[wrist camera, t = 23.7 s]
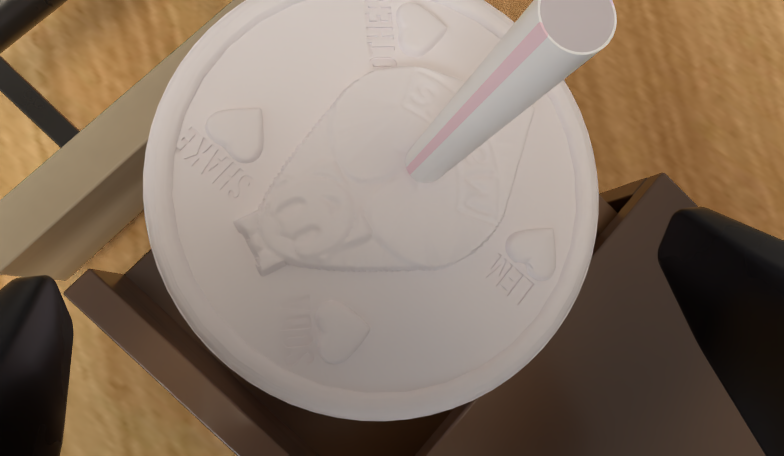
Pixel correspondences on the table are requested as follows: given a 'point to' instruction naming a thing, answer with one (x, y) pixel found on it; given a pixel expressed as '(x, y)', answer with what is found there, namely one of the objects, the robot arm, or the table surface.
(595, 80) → the table surface
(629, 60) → the table surface
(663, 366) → the cabinet
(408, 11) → the smoothie
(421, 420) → the drawer
